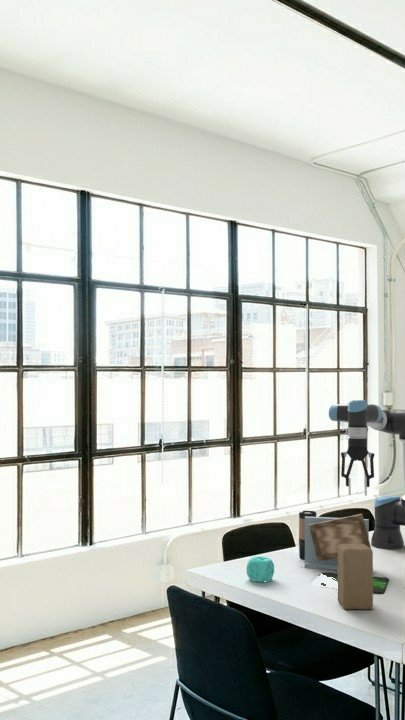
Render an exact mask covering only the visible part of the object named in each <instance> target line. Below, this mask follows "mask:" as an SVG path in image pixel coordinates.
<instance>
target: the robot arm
mask: <svg viewBox="0 0 405 720" xmlns="http://www.w3.org/2000/svg"><path fill="white" fill-rule="evenodd" d="M328 417H329V419H330V420H331V421H332V422H343V423H347V425H348V427H347V435H348V439H347V451H344V452H343V451H342V452H340V457H341V473H340V475H341V478H344V479H345V486H346V487H348V495H349V496H351V495H352V494H351V486H352V485H351V484H352V483H351V478H350V475H351V471H352V468H353V465H354V462H357V461H359V462H361V464H362V468H363V470H364V474H365V477H366V478H364V497H365V496H366V497H367V496H368V491H367V490H368V489H367V488H370V487H371V486H370V483H371V481H370V479H374V478H375V467H374V458H375V453H374V452H369V450H368V439H367V437H368V427H370V428H371V429H373V430H375V431H378V432H383V433H386V434H391V435H398V438H399V440H400V441H401V443H402V457H403V461H402V463H403V484H404V485H403V489H404V494H403V495H402V496H401V497H400V495H386V496H379V497H376V498H375V500H374V507H373V508H374V530H373V533H372V537H371V538H370V546H371V547H374V548H379V549H387V550H397V549H404V548H405V541H404V538H403V534H402V531H401V526H404V527H405V409H382V408H381V407H380V406H379V405H377V404H368V403H367V400H363V399H350V400H349V401H348V402H347V403H345V404H344V403H333V404H331V405H330V406H329V408H328ZM347 455H348V457H349V458H350V462H349V463H348V467H347V471H346V472H345V467H346V464H345V463H346V457H347ZM367 456H368V458H369V463H370V464H369V465H370V467H369V468H370V473H369V471H368V468H367V464H366V461H365V458H366V457H367ZM345 473H346V474H345Z"/></svg>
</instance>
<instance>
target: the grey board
mask: <svg viewBox="0 0 405 720" xmlns="http://www.w3.org/2000/svg"><path fill="white" fill-rule="evenodd" d="M338 518H339V517H328V516H325V517H324V516H316V517H306V516H305V560H304V565H303V566H304V568H309V569H325V570H326V569H329V570H338V558H335V559H330V560H324V561H319V562H318V560H317V556H316V552H315V548H314V543H313V539H312V535H311V531H310V527H309V524H314V523H319V522H324V521H329V520H334V519H338ZM363 519H364V523H365V527H366V531H367V535H368V539H369V538H370V536H369V535H370V531H369V530H370V529H369V528H370V527H369V525H370V524H369V523H370V522H369V521H370V520H369V518H363ZM369 540H370V539H369Z"/></svg>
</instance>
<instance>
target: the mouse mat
mask: <svg viewBox="0 0 405 720" xmlns="http://www.w3.org/2000/svg"><path fill="white" fill-rule="evenodd" d="M321 573H322V574H323V575H326V576H327V577H333V578H335V579H336V580H335V579H333V578H332V579H333V580H335V581H337V582H338V572H327V571H325V572H321ZM389 581H390V579H389V577H387V576H385V577H383V576H373V594H374V593H375V594H381V595H382V594H384V593H385V591H386V589H387V586H388V584H389ZM321 585H323V586H326V584H324V583H321Z"/></svg>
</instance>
